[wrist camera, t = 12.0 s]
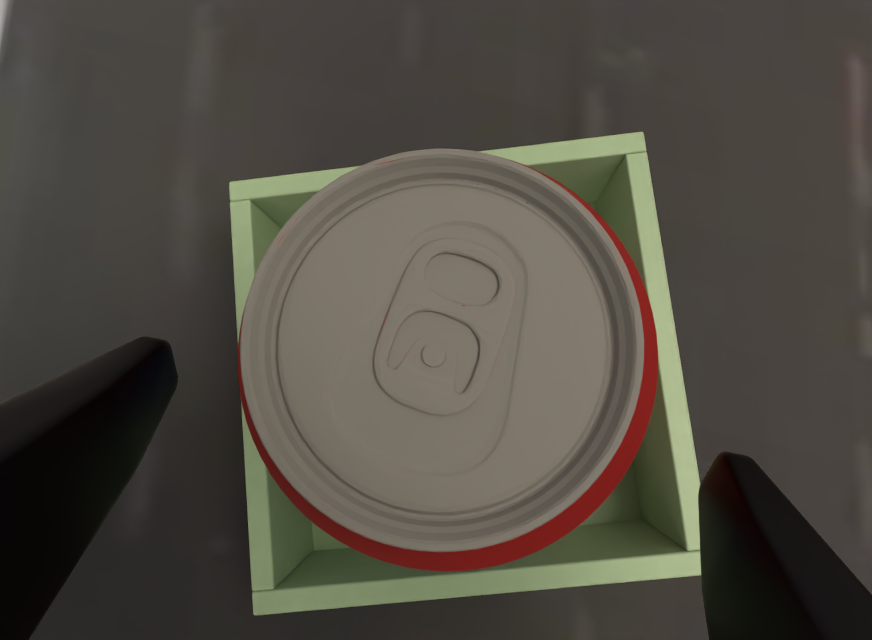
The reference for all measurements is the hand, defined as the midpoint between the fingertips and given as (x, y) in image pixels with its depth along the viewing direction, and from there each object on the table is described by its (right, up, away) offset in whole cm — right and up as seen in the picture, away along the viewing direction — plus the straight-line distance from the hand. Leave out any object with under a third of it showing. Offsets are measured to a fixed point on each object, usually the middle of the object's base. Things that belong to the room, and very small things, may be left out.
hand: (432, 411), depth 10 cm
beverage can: (+1, 0, +10) cm, 10 cm away
